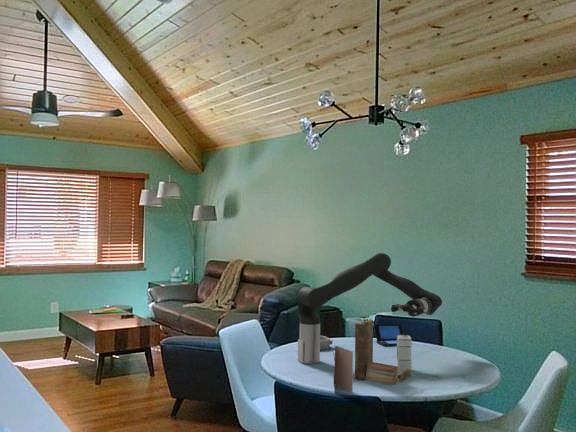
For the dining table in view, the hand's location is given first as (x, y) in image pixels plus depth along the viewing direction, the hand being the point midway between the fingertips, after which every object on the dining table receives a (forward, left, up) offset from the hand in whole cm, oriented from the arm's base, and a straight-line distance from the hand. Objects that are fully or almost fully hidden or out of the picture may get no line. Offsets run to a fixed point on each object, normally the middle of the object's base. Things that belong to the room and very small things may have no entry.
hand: (401, 310), depth 236 cm
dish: (-21, +46, -25) cm, 56 cm away
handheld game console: (+20, +43, -25) cm, 54 cm away
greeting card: (-38, -22, -25) cm, 50 cm away
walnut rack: (-16, -13, -24) cm, 32 cm away
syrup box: (-2, -5, -25) cm, 25 cm away
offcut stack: (-18, -17, -24) cm, 35 cm away
